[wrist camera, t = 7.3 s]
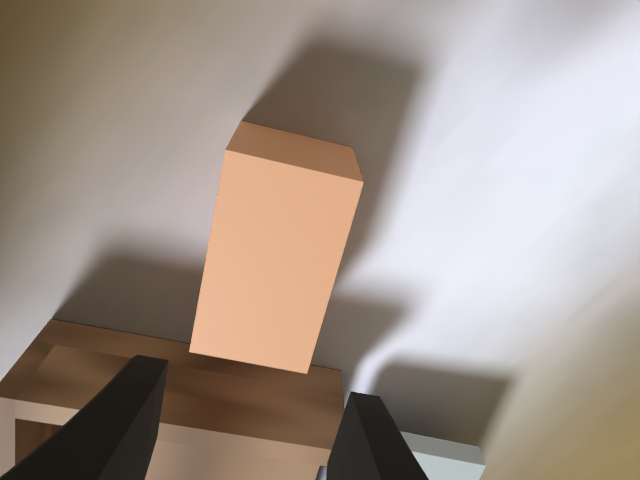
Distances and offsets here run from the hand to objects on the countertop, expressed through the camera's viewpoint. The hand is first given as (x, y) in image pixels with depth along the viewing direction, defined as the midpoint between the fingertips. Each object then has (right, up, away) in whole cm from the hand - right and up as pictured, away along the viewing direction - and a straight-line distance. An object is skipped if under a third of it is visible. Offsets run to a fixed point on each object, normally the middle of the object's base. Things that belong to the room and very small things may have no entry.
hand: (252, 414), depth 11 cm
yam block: (0, +4, +9) cm, 10 cm away
